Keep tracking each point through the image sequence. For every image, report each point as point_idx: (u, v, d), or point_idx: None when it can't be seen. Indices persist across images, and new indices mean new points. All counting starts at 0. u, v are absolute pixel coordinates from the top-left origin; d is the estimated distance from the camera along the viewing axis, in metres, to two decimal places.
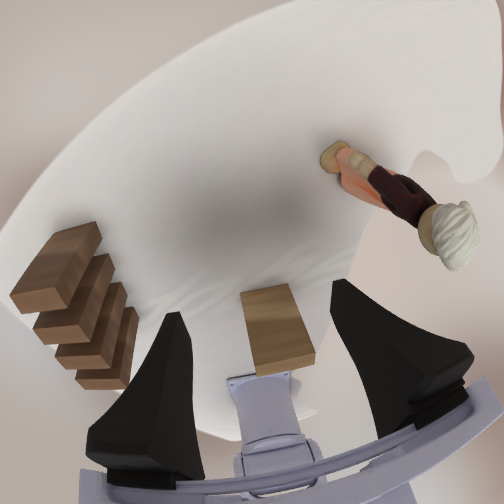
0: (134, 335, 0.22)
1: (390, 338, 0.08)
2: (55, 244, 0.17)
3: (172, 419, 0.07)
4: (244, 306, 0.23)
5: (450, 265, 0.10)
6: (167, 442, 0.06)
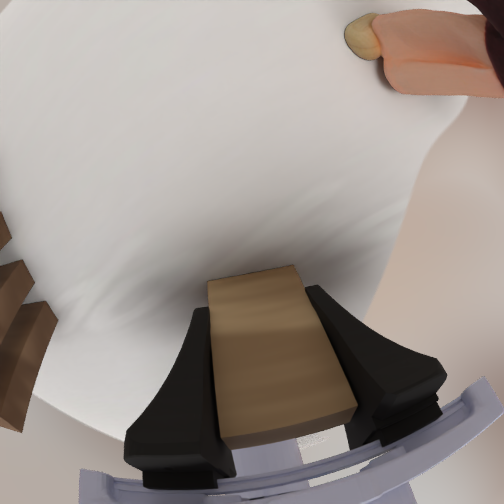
0: (44, 346, 0.11)
1: (356, 350, 0.08)
2: None
3: (212, 415, 0.08)
4: (212, 305, 0.12)
5: None
6: (211, 439, 0.06)
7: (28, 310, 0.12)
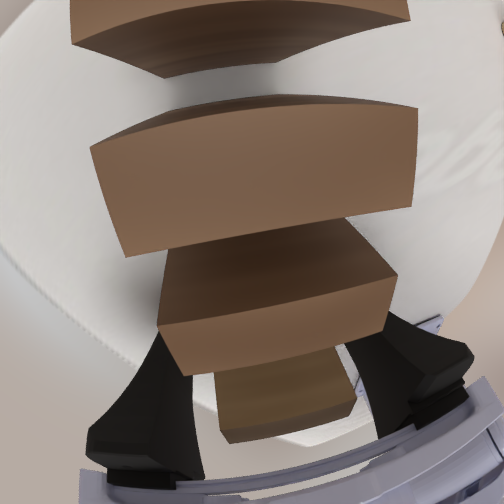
0: None
1: (390, 338, 0.08)
2: None
3: (172, 419, 0.07)
4: None
5: None
6: (167, 442, 0.06)
7: None
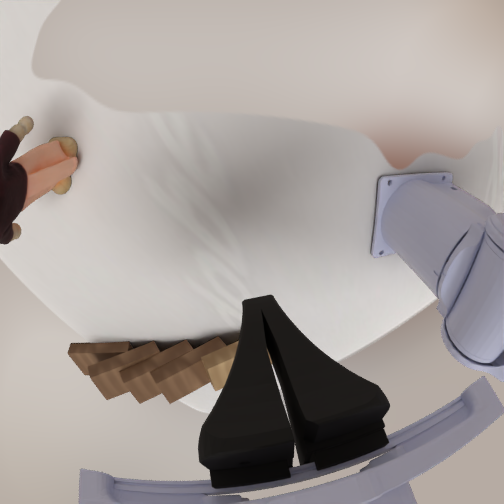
0: (204, 355, 0.25)
1: (292, 368, 0.08)
2: None
3: None
4: None
5: None
6: None
7: None
